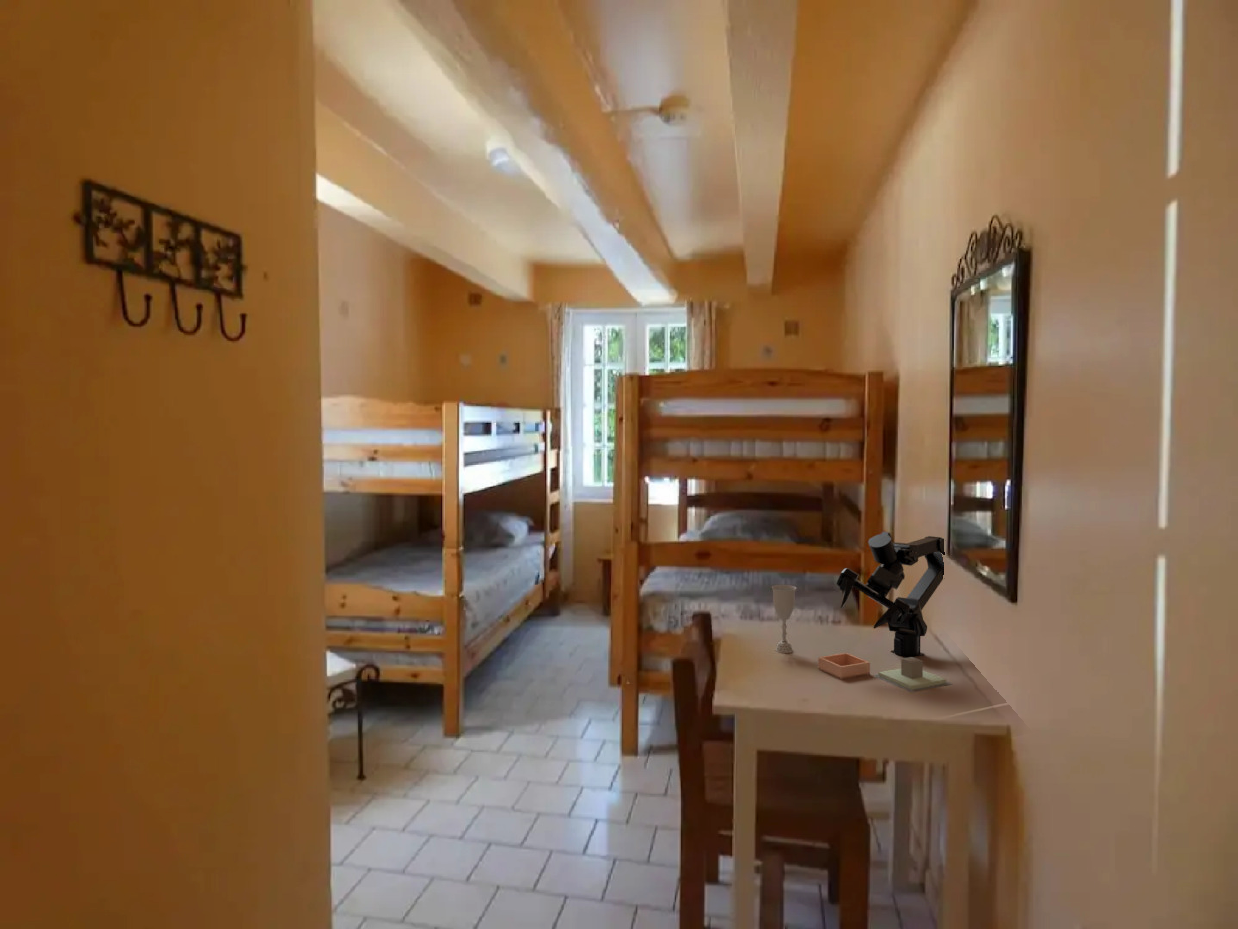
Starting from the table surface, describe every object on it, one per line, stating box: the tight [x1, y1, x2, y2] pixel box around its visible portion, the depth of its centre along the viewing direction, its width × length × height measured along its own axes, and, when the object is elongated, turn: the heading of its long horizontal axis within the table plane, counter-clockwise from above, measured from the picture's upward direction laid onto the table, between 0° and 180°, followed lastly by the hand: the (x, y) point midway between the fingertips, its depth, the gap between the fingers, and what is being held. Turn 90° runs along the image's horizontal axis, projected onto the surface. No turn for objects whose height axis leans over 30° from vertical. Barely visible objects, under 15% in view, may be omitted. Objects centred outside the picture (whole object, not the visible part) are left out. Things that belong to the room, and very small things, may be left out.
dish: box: [817, 652, 871, 681], centre depth 194 cm, size 9×9×4 cm
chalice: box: [771, 584, 797, 654], centre depth 214 cm, size 7×7×18 cm
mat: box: [872, 674, 952, 693], centre depth 188 cm, size 13×13×1 cm
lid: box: [878, 657, 947, 690], centre depth 188 cm, size 11×11×5 cm
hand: (857, 617), depth 192 cm, fingers open, 9 cm apart
